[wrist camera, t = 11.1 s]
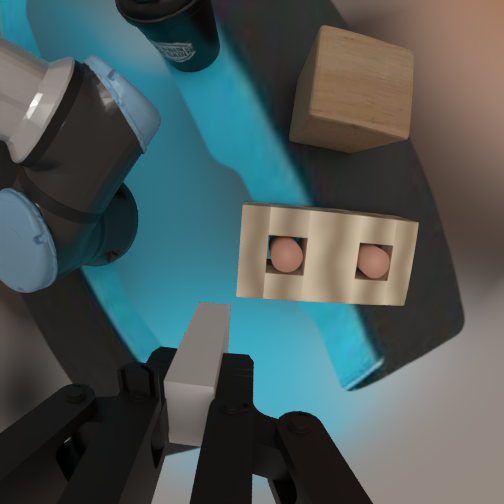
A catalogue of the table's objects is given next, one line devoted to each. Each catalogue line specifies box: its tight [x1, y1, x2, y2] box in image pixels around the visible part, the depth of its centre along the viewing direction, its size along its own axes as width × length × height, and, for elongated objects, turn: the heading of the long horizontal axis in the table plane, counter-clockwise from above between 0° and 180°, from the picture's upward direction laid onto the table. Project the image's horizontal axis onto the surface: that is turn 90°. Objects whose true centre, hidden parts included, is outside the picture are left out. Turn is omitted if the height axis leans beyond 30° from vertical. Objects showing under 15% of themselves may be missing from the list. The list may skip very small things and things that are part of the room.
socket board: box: [236, 201, 419, 305], centre depth 45 cm, size 24×12×8 cm, turn 86°
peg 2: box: [356, 243, 390, 278], centre depth 45 cm, size 4×4×8 cm
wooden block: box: [289, 26, 414, 153], centre depth 35 cm, size 10×10×20 cm
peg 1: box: [269, 235, 303, 272], centre depth 45 cm, size 4×4×8 cm
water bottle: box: [115, 0, 220, 72], centre depth 32 cm, size 10×10×23 cm
